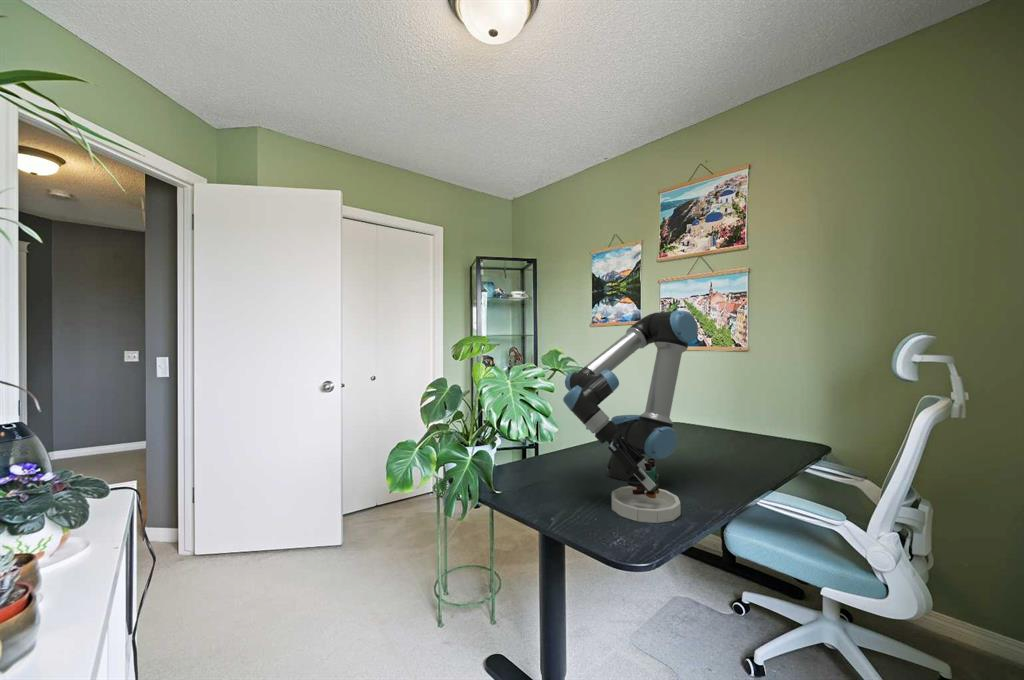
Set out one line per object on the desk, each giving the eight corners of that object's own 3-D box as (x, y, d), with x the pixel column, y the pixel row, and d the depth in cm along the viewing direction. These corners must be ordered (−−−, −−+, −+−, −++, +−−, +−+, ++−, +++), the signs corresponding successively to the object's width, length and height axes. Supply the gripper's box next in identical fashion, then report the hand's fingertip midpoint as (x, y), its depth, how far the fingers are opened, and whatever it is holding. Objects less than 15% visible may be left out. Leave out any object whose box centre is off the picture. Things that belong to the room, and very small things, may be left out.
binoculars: (629, 456, 138) (660, 457, 133) (632, 488, 137) (664, 491, 132) (621, 463, 130) (654, 464, 125) (624, 497, 130) (657, 500, 124)
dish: (599, 509, 131) (599, 498, 131) (630, 491, 145) (630, 481, 145) (662, 529, 117) (662, 516, 117) (689, 507, 132) (689, 496, 132)
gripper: (600, 428, 147) (648, 479, 141) (586, 442, 127) (641, 502, 121) (615, 414, 145) (665, 465, 139) (603, 425, 125) (660, 486, 119)
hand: (653, 482), depth 130 cm, fingers closed on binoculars, 9 cm apart
